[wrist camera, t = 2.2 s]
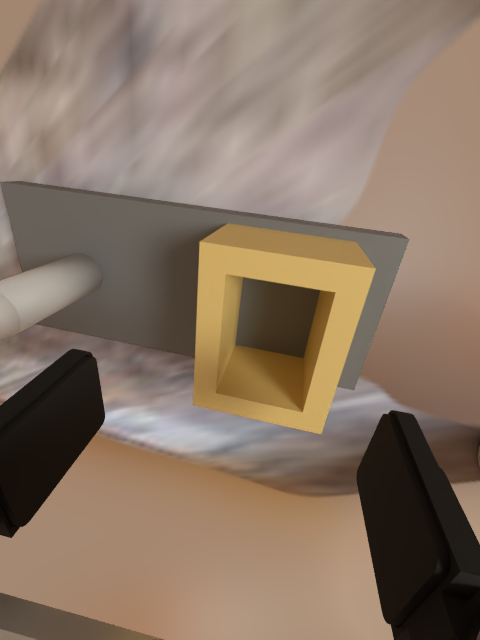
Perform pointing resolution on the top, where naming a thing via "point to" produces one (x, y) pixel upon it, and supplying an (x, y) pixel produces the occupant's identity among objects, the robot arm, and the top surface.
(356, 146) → the top surface
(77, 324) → the keeper board
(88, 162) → the top surface
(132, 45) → the top surface
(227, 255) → the tan hollow block
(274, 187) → the top surface
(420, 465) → the robot arm
